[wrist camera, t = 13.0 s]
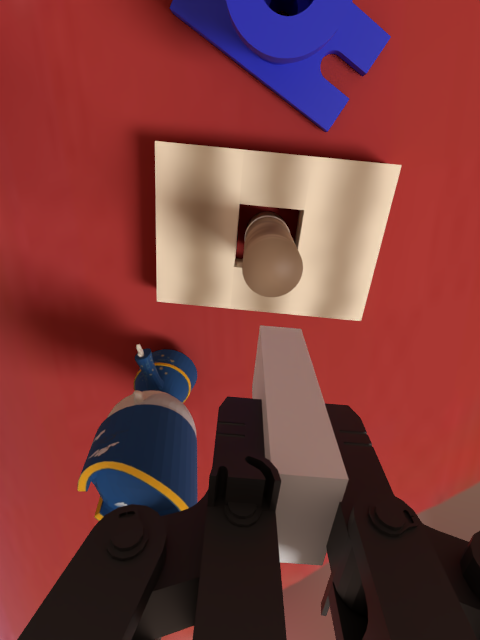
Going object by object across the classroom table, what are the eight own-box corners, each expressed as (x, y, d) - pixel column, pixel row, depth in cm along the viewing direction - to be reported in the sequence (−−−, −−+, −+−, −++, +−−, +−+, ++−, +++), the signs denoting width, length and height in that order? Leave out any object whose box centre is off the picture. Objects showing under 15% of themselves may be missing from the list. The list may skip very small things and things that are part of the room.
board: (163, 290, 37) (156, 301, 34) (163, 142, 31) (154, 140, 28) (353, 308, 37) (360, 321, 34) (388, 164, 31) (401, 165, 28)
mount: (385, 41, 28) (438, -5, 20) (325, 132, 30) (350, 124, 23) (223, -102, 25) (209, -224, 17) (173, 14, 27) (140, -44, 20)
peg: (243, 251, 35) (238, 295, 24) (247, 208, 33) (244, 234, 22) (284, 255, 35) (298, 300, 24) (290, 212, 33) (308, 241, 22)
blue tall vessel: (122, 321, 39) (8, 468, 21) (204, 302, 37) (158, 441, 19) (162, 412, 44) (99, 593, 26) (235, 398, 43) (222, 578, 25)
